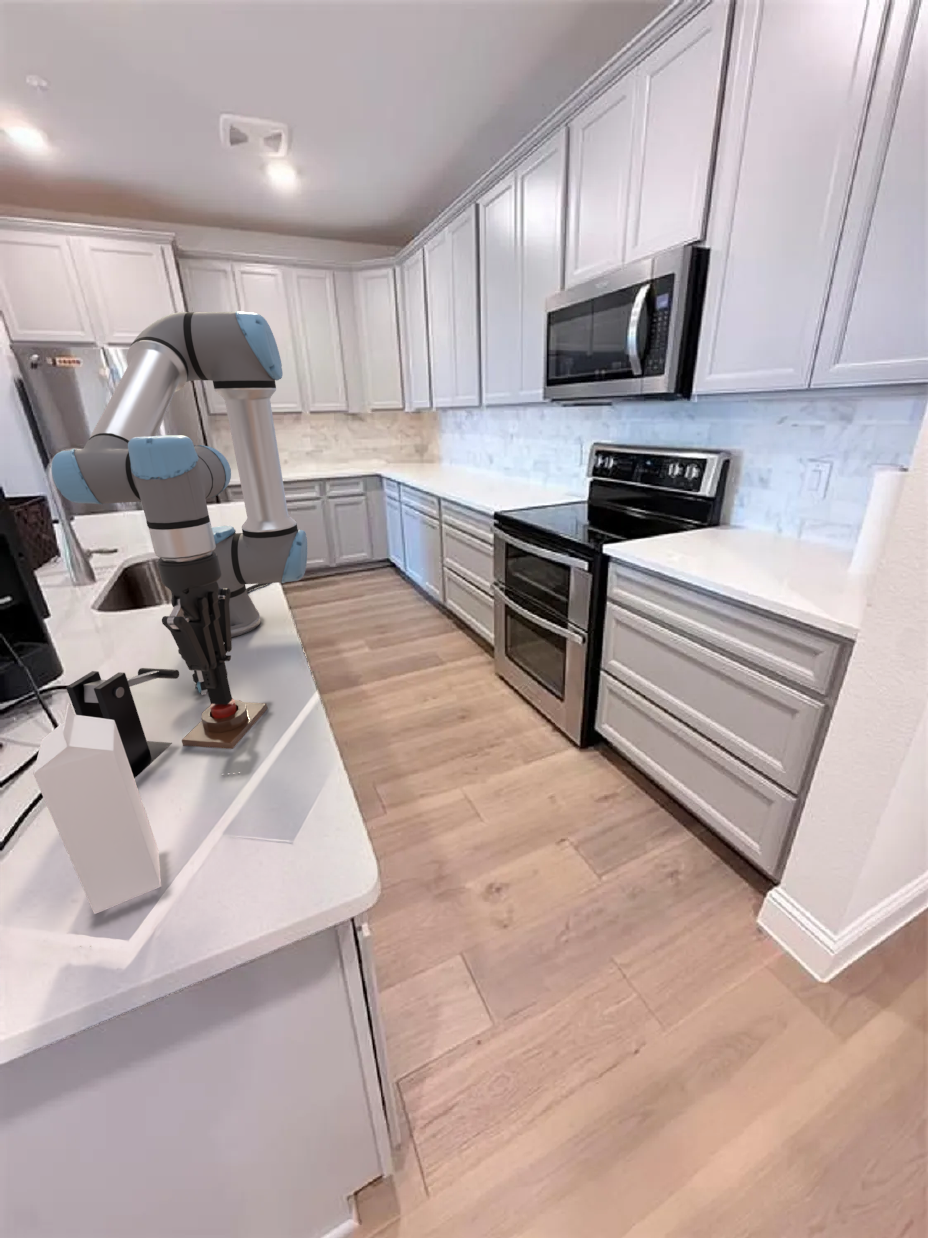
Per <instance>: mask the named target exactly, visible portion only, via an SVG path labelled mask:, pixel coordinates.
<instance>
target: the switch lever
mask: <svg viewBox="0 0 928 1238" xmlns="http://www.w3.org/2000/svg"><path fill="white" fill-rule="evenodd" d="M179 677H180V671H179V669H174V668H173V669H172V668H171V669H170V668H148V667H140V668H139V669H138V670H137V675H135V676H130V677H127V681H128V684H129V687H133V686H137V685H140V684H144V683H146V682H149V681H152V680H156V679H171V680H177V679H179ZM106 680H107V679H101V680H99V681H95V682H91V683H88V684H84V685H83V686H84V700H85V702H90V703H98V700H97V697H96V694H95V691H94V688H95V687H97V686H98V685H100V684H102V683H103V682H105V681H106Z"/></svg>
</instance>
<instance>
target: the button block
mask: <svg viewBox="0 0 928 1238" xmlns="http://www.w3.org/2000/svg"><path fill="white" fill-rule="evenodd" d="M234 700H235V704H236V708H237V711H236V713H235V714H233V715H231V716H229V717H226V718H221V719H218V718H213V717H212V714H211V710H210V705H209V706H208V707H207V708H205V709H204V710H203V711H202V712H201V717H200V720H201V721H199V723H197V724H196V726H194V727H193V728H192V729H191V730H190V731H189V732H188V733H187V734H186V735H185V736H184V737H183V738H182V739H181V743H182V746H184V747H197V748H198V747H199V748H211V749H225V750H226V749H227V750H233V749H234V748H235V747H236V746H237V745H238V743H240V741H241V740H242V739H243V738H244V737H245V735H246V734H247V733H248V732H249V731H250V730H251V729H252V727H253V726H254V725H255V724H256V722H258V721H259V720H260V718H261V717H262V716H263V715H264V713H266V712H267V710H268V704H267V702H250V701H249V702H248V701H242V700H239V699H234Z"/></svg>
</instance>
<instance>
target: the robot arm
mask: <svg viewBox="0 0 928 1238" xmlns="http://www.w3.org/2000/svg"><path fill="white" fill-rule="evenodd" d="M126 363H127V367H126V369H125V371H124V373H123V374H122V376H121V378H120V380H119V382H118V384H117V386H116V387H115V390H114V391H113V393H112V395H111V397H110V398H109V400H108V402H107V404H106V406H105V408H104V410H103V412H102V414H101V416H100V418H99V419H98V421H97V423H96V425H95V427H94V429H93V430H92V432H91V434H90V436H89V438H88V440H87V441H86V443H85V445H84V447H83V448H82V449H77V448H71V450H62V451H59V452H57V453H55V455H54V456H53V458H52V461H51V467H50V468H51V471H50V472H51V476H52V480H53V482H54V485H55V487H56V488H57V490H59V492H60V494H61V495H62V496H63V498H65V499H66V500H68V501H69V502H71V503H76V504H97V505H104V504H121V503H123V504H124V503H125V504H126V503H141V506H142V509H143V514H144V517H145V522H146V526H147V528H148V531H149V536H150V539H151V543H152V548H153V551H154V555H155V556H156V557H157V558H158V560H157V562H156V565H157V569H158V572H159V576H160V581H161V584H162V585H163V586H164V587H165V588H167V589H169V590H170V592H171V600H170V601H171V606H172V610H171V611H170V614H169V615H164V616H162V618H161V622H162V625H163V626H164V627H165V628H166V629H167V630H168V631H169V632H170V633H171V636H172V638H173V640H174V642H175V644H176V646H177V648H178V649H179V650H180V652H181V654H182V656H183V658H184V660H183V661H184V662H185V664H186V667H187V669H188V670H189V671H194V670H197V671H201V672H202V676H203V680H204V684H205V687H206V688H207V690H208V691H207V694H208V698H209V702H210V703H209V704H210V705H211V704H226V705H227V704H228V703H229V702H230V701H231V700H232V698H233V697H232V691H231V687H230V683H229V679H228V671H227V666H226V662H229V661H231V659H232V655H229V654H227V653H230V652H231V651H232V649H233V646H232V643H233V642H232V638H234V637H238V636H242V635H244V634H247V633H250V632H251V631H254V630H255V629H256V628H257V627H258V626H259V625H260V624H261V616H260V613H259V610H258V609H257V607H256V606H255V604H254V601H253V600H252V599H251V597H250V595H249V592H250V591H252V590H255V589H257V588H260V587H263V586H266V585H268V584H279V583H281V584H285V583H290V582H298V581H301V580H302V579H303V577H304V576H305V574H306V570H307V564H308V563H307V562H308V538H307V533H306V531H305V530H303V529H298V522H297V521H296V519H294V518H293V517H291V516H290V514H289V511H288V506H287V505H288V504H287V498H286V493H285V491H286V490H285V487H284V480H283V479H284V478H283V473H282V465H281V460H280V454H279V448H278V447H279V446H278V442H277V435H276V429H275V423H274V416H273V409H272V404H271V403H272V402H271V398H272V397H273V395H274V394H275V393H276V391H277V385H276V381H279V380H282V379H283V368H282V366H283V364H282V360H281V356H280V351H279V347H278V344H277V340H276V338H275V335H274V333H273V330H272V329H271V326H270V325H269V322H268V321H267V320H266V318H265V317H264V316H262V315H261V314H259V313H256V312H248V311H240V310H235V311H179V312H174V313H170V314H167V315H165V316H162V317H161V318H159V319H157V320H156V321H154V322H152V323H151V324H149V325H148V326H147V327H146V328H145V329H143V330H142V331H141V332H140V333H139V334H138V335H137V336H136V338H135V339H134V340H133V341H132V343H131V344H130V347H129V348H128V349H127V353H126ZM193 381H194V382H195V381H212V384H213V389H214V390H213V391H214V392H215V393H216V394H218V395H219V396H220V397H221V398H223V400H224V404H225V408H226V409H225V410H226V414H227V420H228V424H229V430H230V434H231V435H230V436H231V440H232V445H233V450H234V455H235V460H236V461H235V462H236V466H237V471H238V476H239V481H240V488H241V493H242V498H243V503H244V508H245V513H246V520H245V521H244V523H243V524H242V525H241V531H242V532H237V530H236V529H235V528H234V526H233V525H220V526H219V525H218V526H212V522H211V519H210V515H209V508H208V505H207V500H208V499H211V498H215V497H216V496H219V495H220V494H222V492H224V490H225V489H226V488H227V487H228V486H229V484H230V482H231V479H232V468H231V466H230V463H229V461H228V460H227V458H226V457H225V455H224V454H223V453H222V452H221V451H219V450H217V449H216V448H215V447H212V446H208V445H203V444H199V445H198V444H197V445H196V444H195V445H194V442H193V440H192V439H191V438H190V437H188V436H187V435H182V434H172V435H158V433H159V432H160V429H161V426H162V424H163V421H164V419H165V417H166V414H167V412H168V409H169V406H170V404H171V402H172V400H173V397H174V395H175V393H176V392H177V393H178V392H179V391H181V390H182V389H183V388H184V387H185V385H186V383H187V382H193ZM246 585H251V586H249V587H246ZM183 658H182V659H183Z"/></svg>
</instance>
